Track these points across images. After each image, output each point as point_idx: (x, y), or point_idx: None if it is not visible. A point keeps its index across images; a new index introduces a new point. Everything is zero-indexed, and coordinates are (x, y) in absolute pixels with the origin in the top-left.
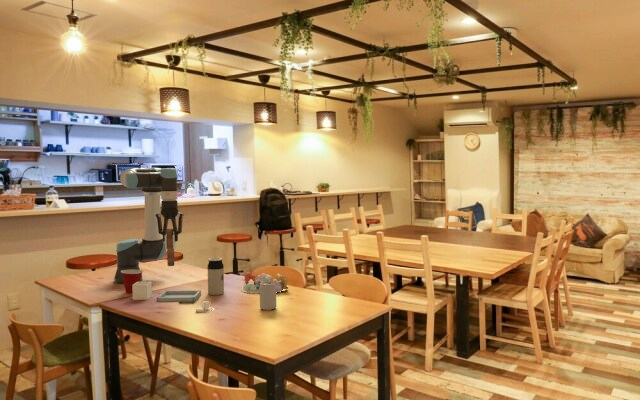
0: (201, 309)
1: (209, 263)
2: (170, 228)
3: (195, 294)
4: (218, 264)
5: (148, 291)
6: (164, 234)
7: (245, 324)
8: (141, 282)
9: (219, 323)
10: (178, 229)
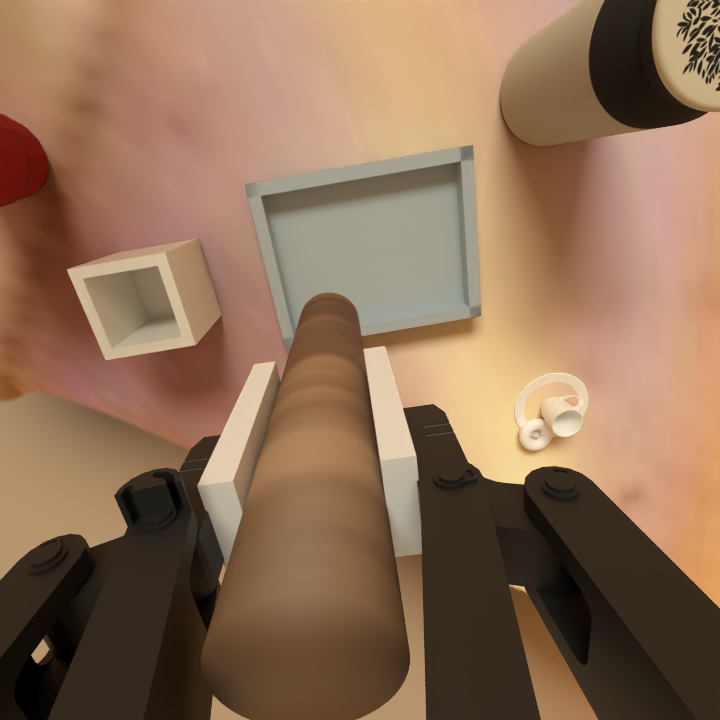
0: (546, 444)
1: (645, 84)
2: (268, 597)
3: (468, 255)
4: None
5: (202, 308)
6: (215, 590)
7: (711, 530)
8: (104, 274)
9: None
10: (579, 659)
